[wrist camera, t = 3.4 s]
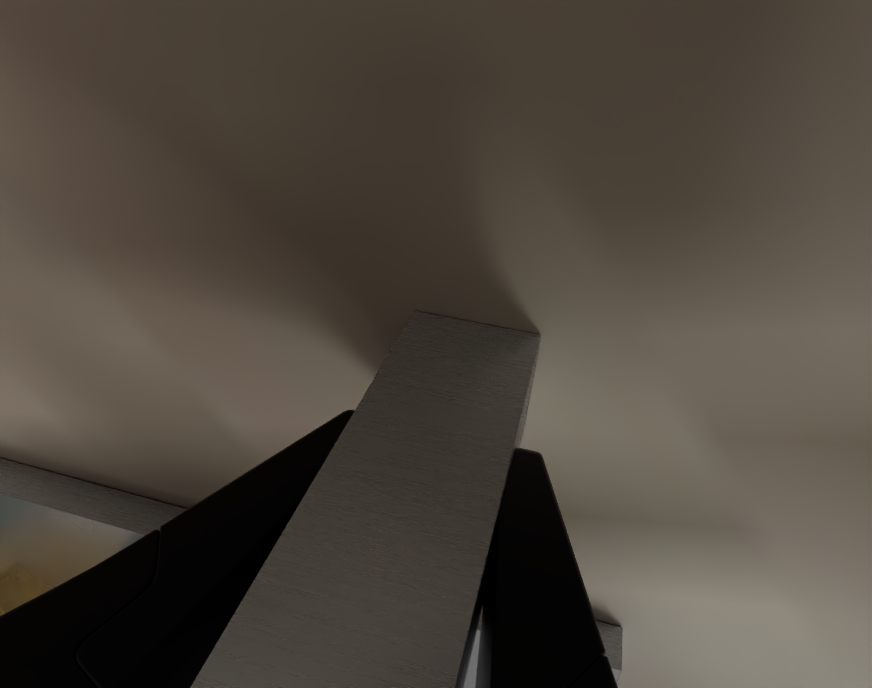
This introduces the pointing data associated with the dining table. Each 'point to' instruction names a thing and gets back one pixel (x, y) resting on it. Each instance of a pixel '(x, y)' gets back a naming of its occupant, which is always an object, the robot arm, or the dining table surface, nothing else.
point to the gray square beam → (392, 525)
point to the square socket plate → (103, 538)
